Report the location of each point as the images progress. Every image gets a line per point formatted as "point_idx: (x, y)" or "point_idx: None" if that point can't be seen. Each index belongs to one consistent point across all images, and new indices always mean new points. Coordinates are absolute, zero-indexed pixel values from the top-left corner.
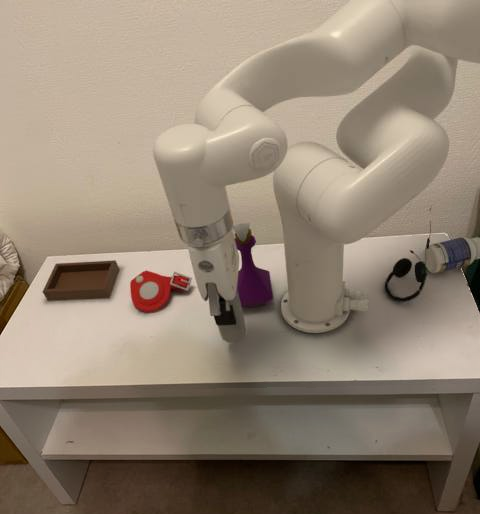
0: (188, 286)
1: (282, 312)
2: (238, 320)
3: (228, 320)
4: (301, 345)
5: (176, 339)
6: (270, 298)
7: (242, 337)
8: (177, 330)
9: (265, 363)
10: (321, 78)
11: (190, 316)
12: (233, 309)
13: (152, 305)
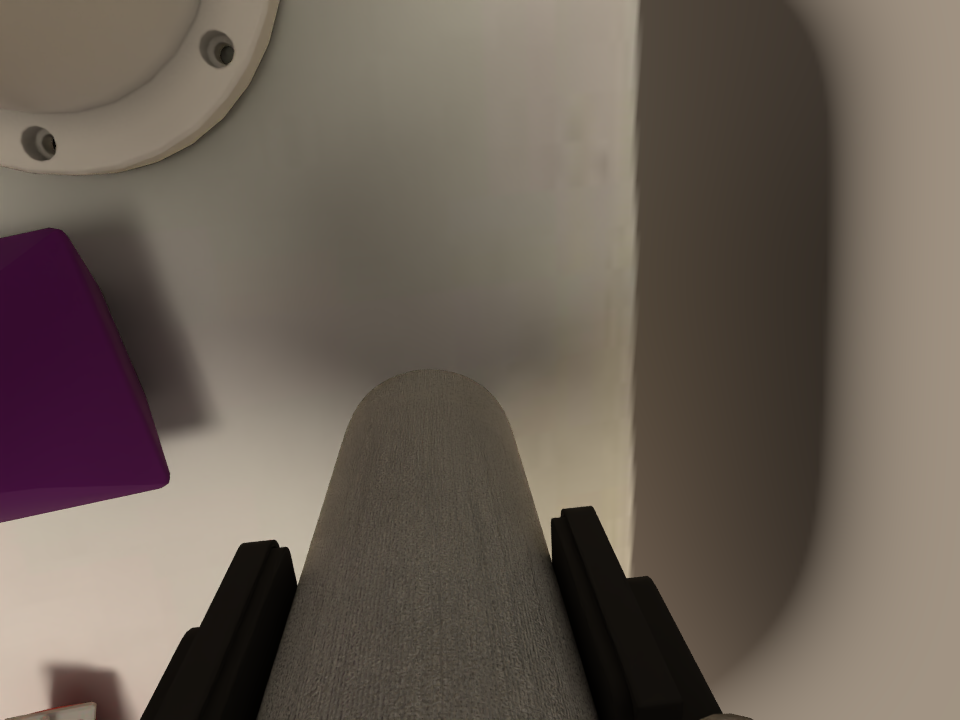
0: (67, 714)
1: (148, 157)
2: (502, 479)
3: (670, 615)
4: (387, 16)
5: None
6: (64, 247)
7: (481, 390)
8: None
9: (527, 228)
10: None
11: None
12: (614, 638)
13: None
